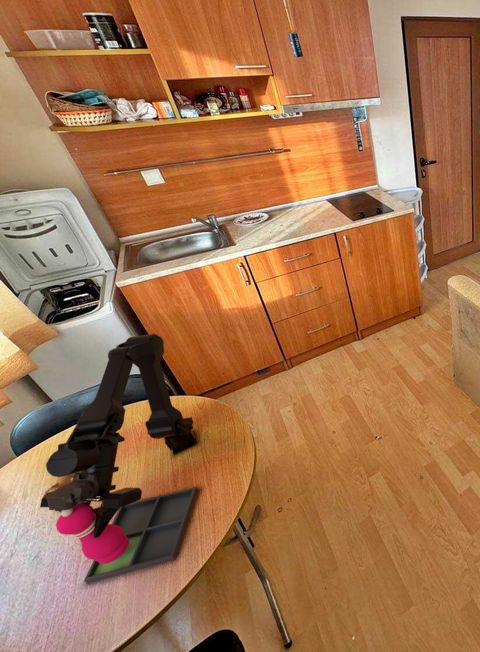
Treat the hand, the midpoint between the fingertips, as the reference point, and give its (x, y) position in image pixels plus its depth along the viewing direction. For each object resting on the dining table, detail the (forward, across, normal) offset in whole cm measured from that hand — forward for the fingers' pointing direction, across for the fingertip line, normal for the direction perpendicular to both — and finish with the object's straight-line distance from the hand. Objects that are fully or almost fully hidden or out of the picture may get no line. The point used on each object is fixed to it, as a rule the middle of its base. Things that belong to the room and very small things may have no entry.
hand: (85, 537), depth 85 cm
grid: (+4, +3, +14) cm, 15 cm away
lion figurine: (-2, -26, +21) cm, 33 cm away
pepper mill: (+6, 0, +8) cm, 10 cm away
